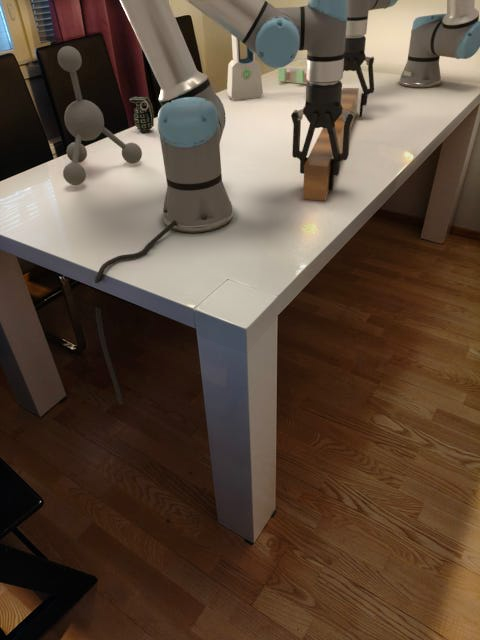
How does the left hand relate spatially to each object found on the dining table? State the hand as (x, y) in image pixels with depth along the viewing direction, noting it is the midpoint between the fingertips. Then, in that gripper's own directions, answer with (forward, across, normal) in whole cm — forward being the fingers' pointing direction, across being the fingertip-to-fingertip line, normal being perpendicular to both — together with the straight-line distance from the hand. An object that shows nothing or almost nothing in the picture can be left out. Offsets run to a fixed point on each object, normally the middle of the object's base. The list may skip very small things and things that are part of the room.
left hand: (318, 187), depth 116 cm
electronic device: (+1, +42, -82) cm, 92 cm away
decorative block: (+1, +24, -114) cm, 117 cm away
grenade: (+1, +63, -37) cm, 73 cm away
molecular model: (+1, +60, -3) cm, 60 cm away
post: (+1, 0, -29) cm, 29 cm away
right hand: (-1, 0, -58) cm, 58 cm away
